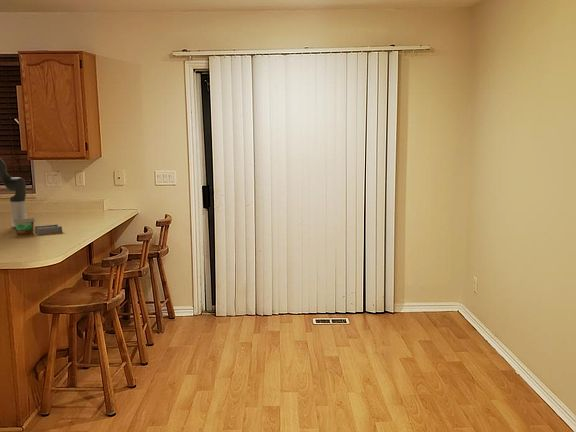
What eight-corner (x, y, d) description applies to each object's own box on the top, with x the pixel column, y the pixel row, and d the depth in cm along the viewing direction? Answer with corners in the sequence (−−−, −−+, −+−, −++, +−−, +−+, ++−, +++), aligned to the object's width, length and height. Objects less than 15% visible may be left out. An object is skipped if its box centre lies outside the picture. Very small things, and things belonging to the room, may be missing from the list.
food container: (12, 235, 365) (11, 219, 364) (14, 234, 371) (13, 218, 370) (33, 235, 368) (32, 219, 366) (35, 233, 374) (34, 217, 372)
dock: (35, 232, 378) (34, 226, 378) (59, 230, 385) (58, 224, 385) (37, 234, 368) (37, 228, 367) (62, 232, 375) (61, 226, 374)
